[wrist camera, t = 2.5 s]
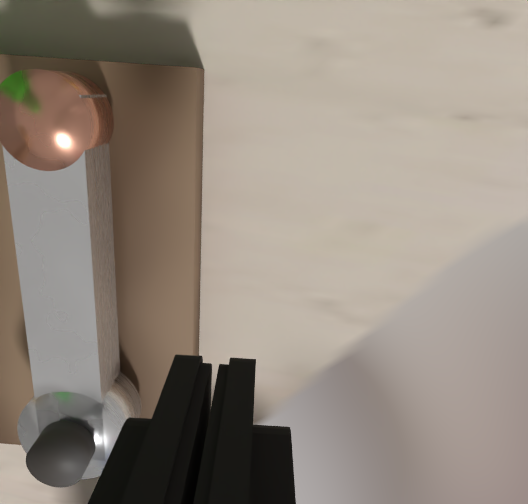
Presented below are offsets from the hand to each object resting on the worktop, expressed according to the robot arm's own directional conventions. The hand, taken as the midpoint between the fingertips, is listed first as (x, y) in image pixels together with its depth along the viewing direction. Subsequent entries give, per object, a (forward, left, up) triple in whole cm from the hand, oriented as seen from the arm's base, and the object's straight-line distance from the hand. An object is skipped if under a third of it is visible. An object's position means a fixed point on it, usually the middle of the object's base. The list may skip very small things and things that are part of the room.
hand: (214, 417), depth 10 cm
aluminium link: (+6, +1, -7) cm, 9 cm away
